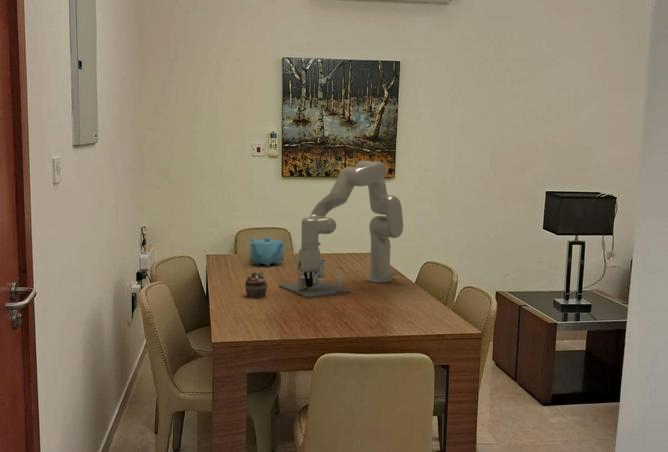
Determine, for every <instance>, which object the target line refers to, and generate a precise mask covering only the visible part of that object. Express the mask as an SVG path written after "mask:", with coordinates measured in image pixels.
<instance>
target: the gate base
mask: <svg viewBox="0 0 668 452" xmlns="http://www.w3.org/2000/svg"><path fill="white" fill-rule="evenodd" d="M336 279H337V280H336V285H335V284H332V283H328V282H325V281H323V280H320V279H317V282H315V283H314V284H313V287H306V288H304V289H303V290H298V282H292V283H284V284H279V285H278V287H279V288H281V289H283V290H285V291H288V292H291V293H293V294H295V295H298V296H301V297H303V298H305V299H308V300H309V299H316V298H317V299H318V298H323V297H330V296H337V295H344V294H350V293H351V290H350V289H346V288H343V286H342V283H343V276H342V275H340V274H339V275H337V277H336Z"/></svg>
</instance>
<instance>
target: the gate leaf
mask: <svg viewBox="0 0 668 452" xmlns="http://www.w3.org/2000/svg"><path fill="white" fill-rule="evenodd" d="M317 280H318V277H317V273H316V275H315V276H314V278H313V284H314V283H315V282H317ZM305 282H306V278H305V277H304V276H303V275H301V276H300V277H298V278H297V283H298V290H303V289H304V288H306V287H307V286H306V284H305Z"/></svg>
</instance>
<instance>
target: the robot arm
mask: <svg viewBox="0 0 668 452" xmlns="http://www.w3.org/2000/svg"><path fill="white" fill-rule="evenodd" d="M387 174H388V168H387V165H386V164H385V163H383V162H382V161H373V160H372V161H371V160H360V161H358V162H356V163H355V166H347V167H344V168H342V169H341V171H340V173H339V175H338V177H337V179H336V181H335V182H334V184H333V186H332V188H331V189H330V192H329V193H328V194H327V195H326V196H324V197H323V198H322V199H321V200H320V201H319V202H318V203H317V204H316V205H315V206H314V208H313V210H312V211H311V213H310V215H309V217H304V218H302V219H301V235H300V236H301V242H300V245H301V246H300V247H301V248H299V251H298V255H297V266H296V268H297V271H298V274H299V275H301V276H304V277H305V278H306V282H305V284H306V286H307V287H313V278H314V276H315V275H316V273H319V272H320V269H321V259H322V257H321V250H320V248H319V246H321V242H319V235H329V234H332V233H334V232H335V231H336V229H337V222H336V220H335V219H333V218H331V217H329V216H326V215H327V214H328V213H329V212H331V211H332V210H333V209H335V208H338V207H340V206H342V205H345V204H346V203H347V201H348V199H349V198H350V195H351V194H352V191H353V189H354V188H355V187H366V186H367V187H368V196H369V197H368V198H369V206H370V211H372V213H374V214H378V215H376V216H373V218H371V220H370V221H369V227H368V228H369V234H370V235H369V236H370V261H369V262H370V263H369V265H370V266H369V268H370V269H369V276H367V277H366V281H368V282H371V283H377V284H384V283H385V284H386V283H390V282H392V281H393V276H397V275H398V272H397V270H396V271H395V270H394V271H391V270H390V269H391V268H390V267H391V240H390V238H391V239H397V238H399V237H401V235H402V234H403V231H404V219H403V208H402V203H401V201H400V199H399V198H398V197H397V196H395V195H392V194H391V195H389V194H388V192H387V184H386V181H385V177H386V176H387ZM383 215H384V216H383Z"/></svg>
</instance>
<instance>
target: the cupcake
mask: <svg viewBox="0 0 668 452" xmlns="http://www.w3.org/2000/svg"><path fill="white" fill-rule="evenodd" d="M267 290H268V284H267V282H266V278H265V274H264V273H261V272H260V273H257V272H253V273H249V274H247V279H246V280H245V292H246V297H247V298H251V299H262V298H265V297H266V294H267Z"/></svg>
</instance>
